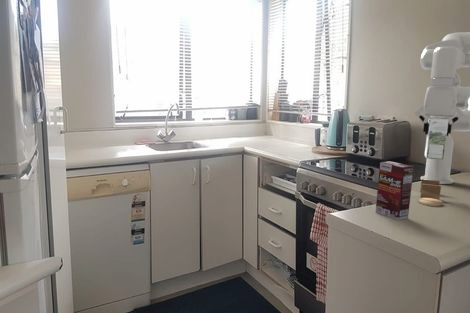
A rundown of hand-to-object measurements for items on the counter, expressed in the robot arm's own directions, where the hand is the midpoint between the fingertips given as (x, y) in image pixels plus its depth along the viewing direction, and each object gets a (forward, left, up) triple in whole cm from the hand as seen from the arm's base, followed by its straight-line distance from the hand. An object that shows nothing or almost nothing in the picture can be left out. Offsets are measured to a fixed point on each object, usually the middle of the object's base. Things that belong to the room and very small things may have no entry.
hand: (436, 134), depth 139 cm
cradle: (0, 0, -23) cm, 23 cm away
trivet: (+12, 0, -23) cm, 26 cm away
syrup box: (0, 0, -9) cm, 9 cm away
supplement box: (+33, -11, -23) cm, 42 cm away
